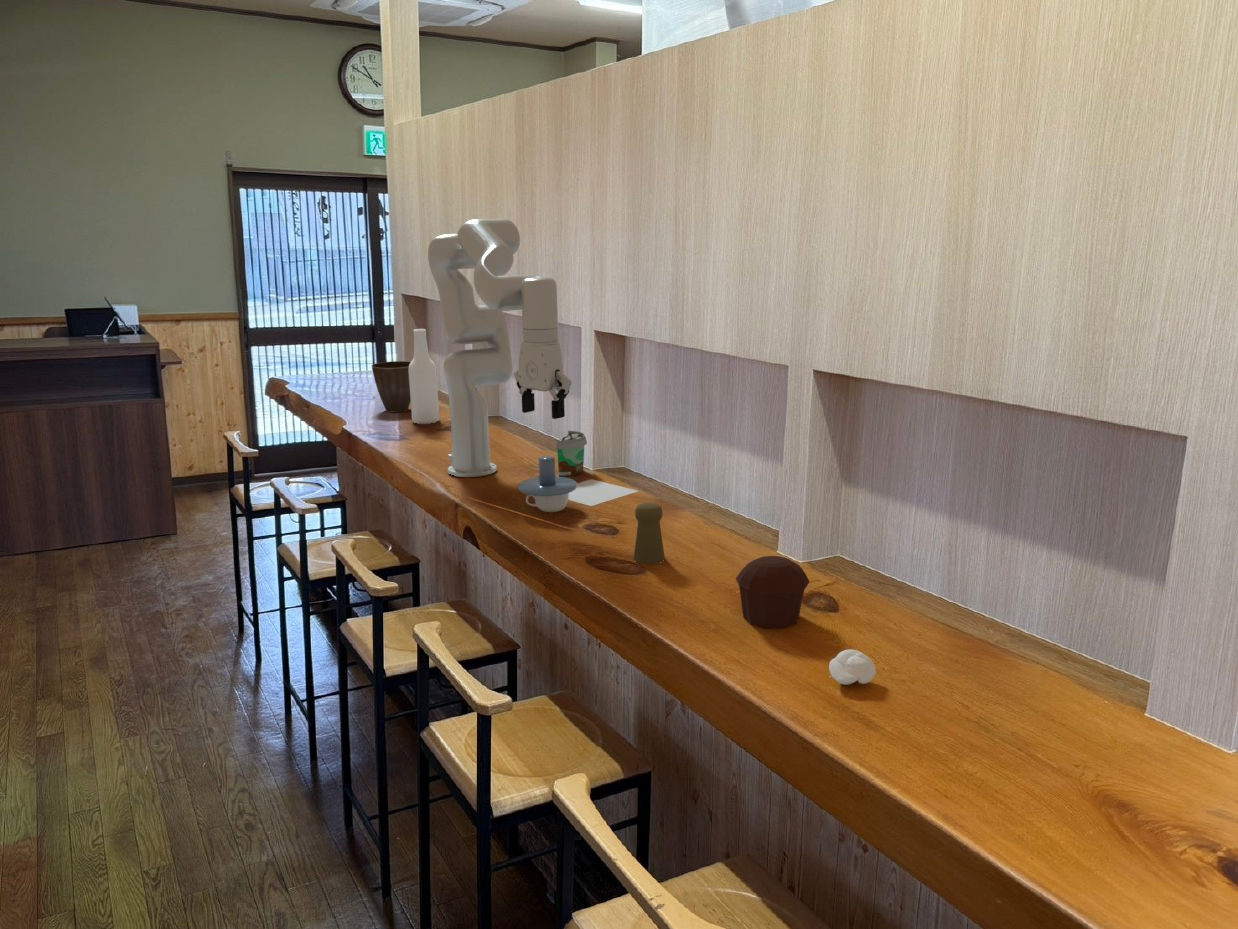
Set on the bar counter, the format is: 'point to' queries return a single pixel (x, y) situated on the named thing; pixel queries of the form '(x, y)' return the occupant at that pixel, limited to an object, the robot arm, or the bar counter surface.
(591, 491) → the mat
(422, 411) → the alcohol
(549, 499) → the teacup
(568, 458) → the food container
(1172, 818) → the bar counter surface
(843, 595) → the bar counter surface
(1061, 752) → the bar counter surface
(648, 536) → the cork
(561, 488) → the lid
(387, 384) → the plant pot
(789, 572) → the muffin
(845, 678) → the dumpling
